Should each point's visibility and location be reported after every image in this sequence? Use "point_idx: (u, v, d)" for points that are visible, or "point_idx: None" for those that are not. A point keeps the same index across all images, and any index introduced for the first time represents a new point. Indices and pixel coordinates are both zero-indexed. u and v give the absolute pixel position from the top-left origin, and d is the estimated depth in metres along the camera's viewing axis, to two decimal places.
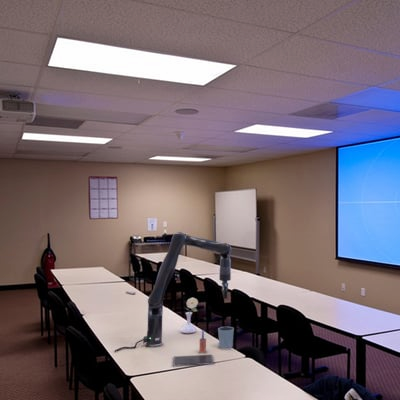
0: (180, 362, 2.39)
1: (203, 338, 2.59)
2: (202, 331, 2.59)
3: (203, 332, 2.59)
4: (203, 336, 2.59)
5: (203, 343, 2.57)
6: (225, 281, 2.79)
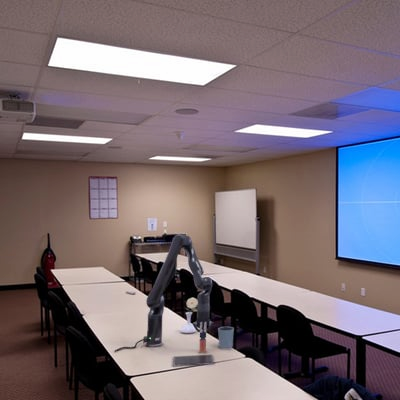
0: (180, 362, 2.39)
1: (203, 338, 2.59)
2: (202, 331, 2.59)
3: (203, 332, 2.59)
4: (203, 336, 2.59)
5: (203, 343, 2.57)
6: (197, 318, 2.59)
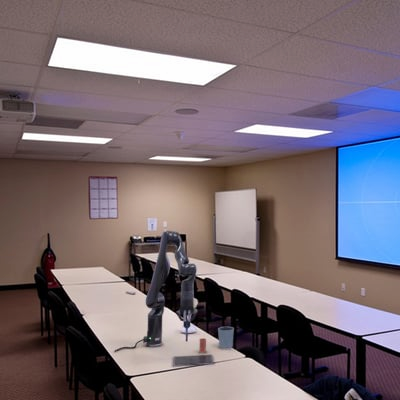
0: (180, 362, 2.39)
1: (187, 327, 2.46)
2: (186, 320, 2.46)
3: (187, 321, 2.47)
4: (187, 325, 2.46)
5: (203, 343, 2.57)
6: None
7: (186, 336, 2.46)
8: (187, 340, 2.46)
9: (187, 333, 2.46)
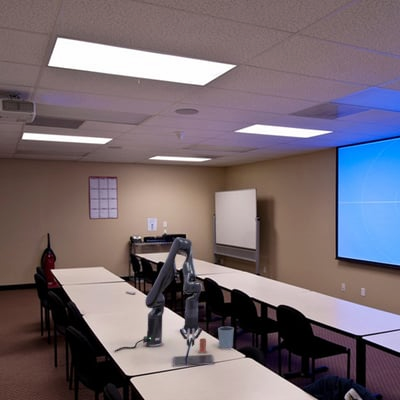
0: (180, 362, 2.39)
1: (190, 346, 2.43)
2: None
3: (191, 340, 2.43)
4: (190, 344, 2.43)
5: (203, 343, 2.57)
6: None
7: (187, 354, 2.43)
8: None
9: (188, 352, 2.43)
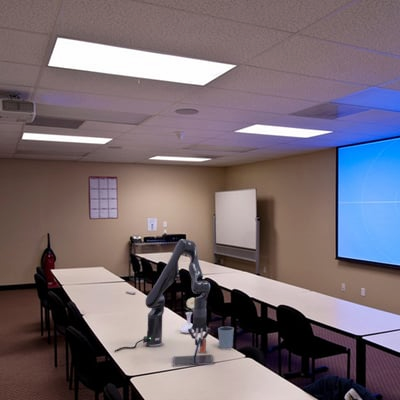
0: (180, 362, 2.39)
1: (198, 346, 2.44)
2: (199, 338, 2.44)
3: None
4: (198, 344, 2.44)
5: (203, 343, 2.57)
6: None
7: (195, 354, 2.44)
8: (195, 358, 2.44)
9: None
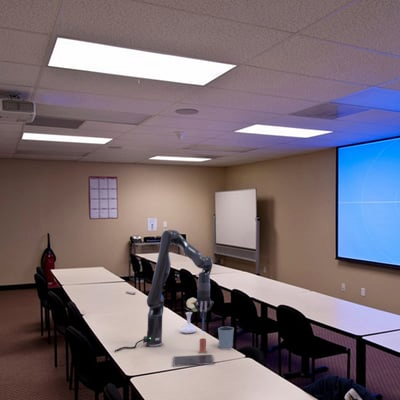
0: (180, 362, 2.39)
1: (203, 318, 2.58)
2: (202, 311, 2.58)
3: (203, 312, 2.58)
4: (203, 316, 2.58)
5: (203, 343, 2.57)
6: None
7: (202, 326, 2.58)
8: (203, 329, 2.58)
9: (203, 323, 2.58)
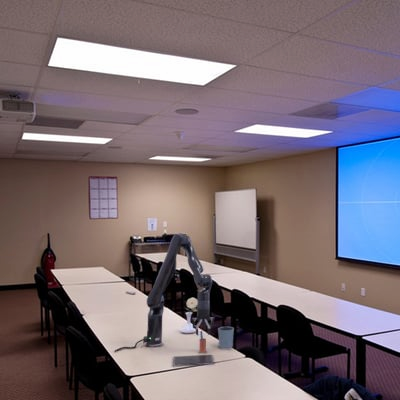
0: (180, 362, 2.39)
1: (202, 339, 2.58)
2: (200, 332, 2.57)
3: (201, 333, 2.58)
4: (202, 337, 2.58)
5: (203, 343, 2.57)
6: (197, 315, 2.59)
7: None
8: None
9: None
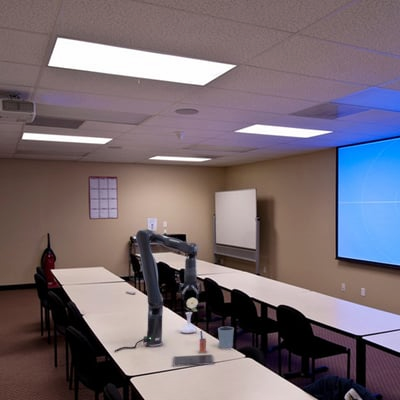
0: (180, 362, 2.39)
1: (202, 339, 2.58)
2: (200, 332, 2.57)
3: (201, 333, 2.58)
4: (202, 337, 2.58)
5: (203, 343, 2.57)
6: (184, 282, 2.70)
7: None
8: None
9: None
